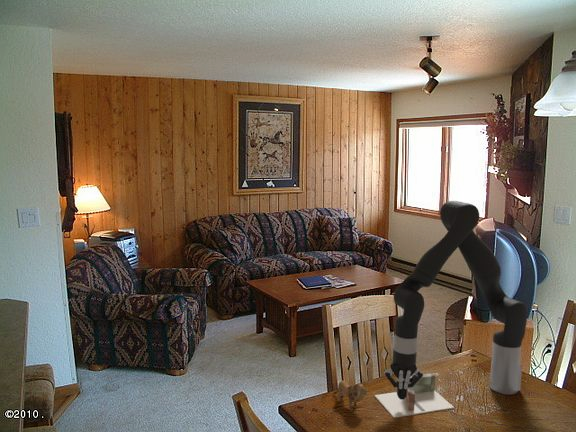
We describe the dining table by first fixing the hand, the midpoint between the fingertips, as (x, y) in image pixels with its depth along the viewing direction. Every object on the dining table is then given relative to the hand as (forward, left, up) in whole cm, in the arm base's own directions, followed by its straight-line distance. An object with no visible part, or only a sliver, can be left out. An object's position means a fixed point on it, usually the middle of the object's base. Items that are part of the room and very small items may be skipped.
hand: (401, 398), depth 163 cm
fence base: (-11, -8, -3) cm, 14 cm away
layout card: (-6, -3, -4) cm, 8 cm away
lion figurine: (+15, -7, -4) cm, 17 cm away
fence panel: (-4, -2, -3) cm, 5 cm away
